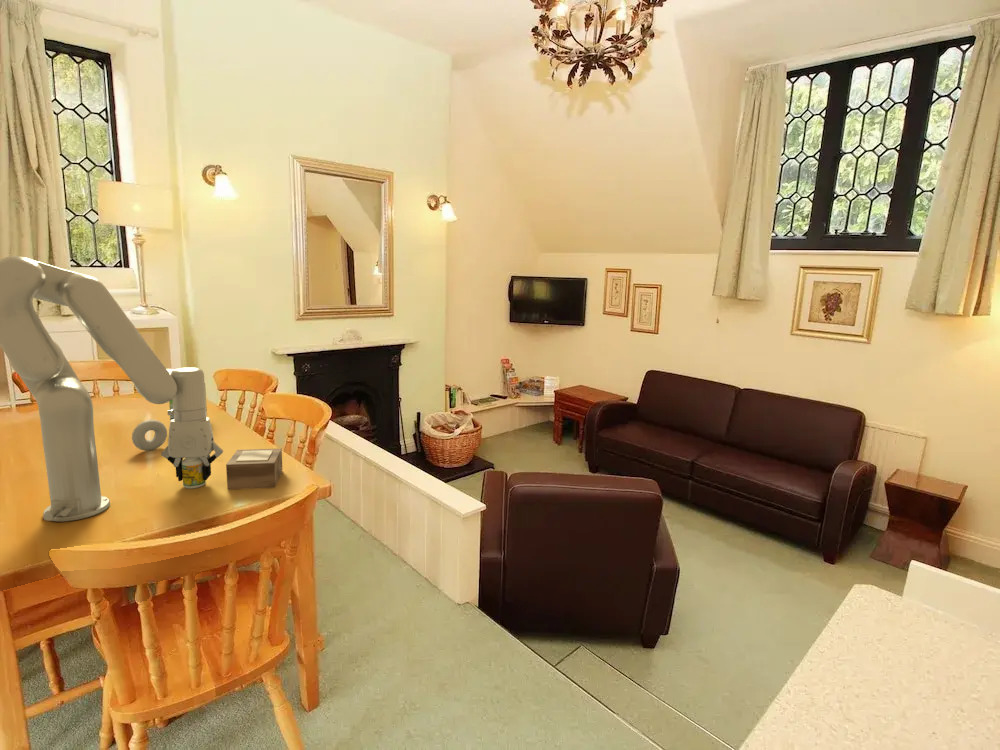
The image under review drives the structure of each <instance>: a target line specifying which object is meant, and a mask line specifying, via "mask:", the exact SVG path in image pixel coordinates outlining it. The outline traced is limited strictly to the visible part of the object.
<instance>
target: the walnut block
mask: <svg viewBox="0 0 1000 750" xmlns="http://www.w3.org/2000/svg"><path fill="white" fill-rule="evenodd" d="M282 450H283V449H282V448H259V449H257V448H255V449H253V448H252V449H237V450H236V451H235V452H234V454H233V455H232V456H231V458H230V459H229V460H228V462H227V463H226V464H225V466H226V467H225V468H226V483H227V484H226V485H227V487H226V488H227V490H241V489H247V490H248V489H265V488H266V489H267V488H268V489H269V488H276V486H277V484H278V483H279V480H280V478H281V476H282V474H283V471H282V470H283V453H282V452H283V451H282ZM280 475H281V476H280ZM279 477H280V478H279Z"/></svg>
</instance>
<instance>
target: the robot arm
mask: <svg viewBox="0 0 1000 750" xmlns="http://www.w3.org/2000/svg"><path fill="white" fill-rule="evenodd" d="M33 299H36V300H40V301H44V302H48V303H52V304H56V305H60V306H66V307H68V308H69V310H70V311H71V312H72V313H73V315H74V316H75V318H77V320H79V322H80V324H82V326H83V327H84V329H85V331H87V332H88V333H89V335H90V336H91V338H92V339H93V340H94V341H95V343H96V344H97V345H98V346H99V347H100V348H101V350H102V351H103V352H104V353H105V354H106V355H107V356H108V357H109V358H111V359H112V360H113V361H114V362H115V363H116V364H117V365H118V366H119V368H121V370H122V371H123V372H124V373H125V375H127V377H128V378H129V379H130V380H131V381H132V384H133V385H134V388H135V391H137V393H139V394H140V396H142V397H143V398H144V400H146V401H147V402H149V403H152V404H155V405H165V404H167V403H169V401H171V400H172V399H173V409H172V410H170V409H168V410H167V415H168V416H170V415H171V416H173V420H171V421H170V420H169V428H168V442H167V444H168V445H167V446H166V447H165V448H164V449H163V450H162V452H161V453H160V456H162V457H163V458H165V459H166V460H167V461H168V462H169V463H171V464H172V465H173V467H174V468H175V476H176V478H177V481H178V482H183V476H182V461H183V460H184V459H185V458H197V457H201V458H202V460H203V463H204V466H203V467H202V469H203V480H206V481H207V480H208V479H209V477H210V476H211V475H212V467H211V465H212V464H213V462H214V461H215V460H216V459H217V458H219V457H220V456H221V455H222V454H223V453H224V450H223V448H221V446H219V445H218V444H217V442H215V439H214V433H213V428H212V423H211V419H210V417H206V409H207V399H206V400H205V389H206V383H205V372H204V371H203V370H202V369H201V368H198V367H194V366H193V367H191V366H190V367H188V366H186V367H179V368H175V369H173V368H167V367H165V365H164V364H163V363H162V360H161V359H159V357H158V356H157V355H156V353H155V352H154V350H152V348H151V347H150V345H148V343H147V342H146V340H145V339H144V337H143V336H142V334H141V333H140V332H139V331H138V329H137V328H136V326H135V325H134V324H133V322H132V321H131V320H130V318H129V316H127V315H126V313H125V312H124V311H123V309H122V308H121V306H120V305H119V303H118V302H117V300H115V298H114V297H113V295H112V294H111V292H109V290H108V289H107V287H106V286H105V285H104V284H103V282H101V281H100V280H99V279H97V277H94V276H91V275H88V274H84V273H80V272H77V271H72V270H68V269H65V268H60V267H57V266H54V265H51V264H47V263H44V262H42V261H38V260H34V259H32V258H29V257H25V256H21V255H19V256H18V255H10V256H6V257H3V258H1V259H0V348H1V349H2V351H3V352H4V354H5V355H6V358H7V359H8V362H9V365H10V366H11V368H12V369H13V371H14V372H15V373H16V374H17V375H18V376H19V377H20V379H21V381H22V382H23V383H24V385H25V386H26V388H27V389H28V390H29V393H30V394H31V395H32V397H33V398H34V399H35V401H36V404H37V407H38V414H39V420H40V427H41V437H42V445H43V454H44V459H45V460H44V461H45V470H46V475H47V484H48V485H47V486H48V491H49V492H48V494H49V499H50V505H49V506H47V507H46V508H45V509H44V510H43V513H42V518H43V520H45V521H50V522H71V521H77V520H78V521H79V520H81V519H86V518H89V517H93V516H95V515H98V514H100V513H103V512H104V511H106V510H107V508H109V506H110V502H111V501H110V498H108V497H106V496H104V495H102V492H101V484H100V483H101V482H100V473H99V464H98V463H99V462H98V455H97V453H98V452H97V445H96V437H95V436H96V435H95V424H94V405H93V400H92V397H91V394H90V393H89V391H88V389H86V387H85V386H84V385H83V383H82V381H81V380H80V378H79V377H78V375H77V374H76V372H75V371H74V369H73V368H72V366H71V364H70V362H69V360H68V359H67V358H66V356H65V354H64V353H63V350H62V349H61V347H60V346H59V344H57V342H56V341H54V340H53V339H52V337H51V335H50V334H49V332H48V331H47V328H46V327H45V326H44V324H43V322H42V320H41V318H40V317H39V315H38V314H37V312H36V310H35V308H34V305H33V304H34V303H33ZM213 451H214V453H213V454H212V452H213ZM211 454H212V455H211Z"/></svg>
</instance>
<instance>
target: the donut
mask: <svg viewBox="0 0 1000 750" xmlns="http://www.w3.org/2000/svg"><path fill="white" fill-rule="evenodd" d="M132 431H133V432H132V433H131V440H132V443H133V445H134V446H135V447H136V448H137V449H139V450H141V451H146V452H147V451H148V452H149V451H153V450H157V449H159V448H160V447H161V446H162V445H163V444H164V443H165V442H166V440H167V437H168V429H167V427H166V425H165V424H164V423H163V422H162V421H159V420H157V419H147V420H144V421H142V422H140V423H139V424H137V426H135V428H134V429H133V430H132ZM149 431H152V432H154V437H152V438H151V439H146V436H145V435H146V434H147V432H149Z"/></svg>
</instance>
